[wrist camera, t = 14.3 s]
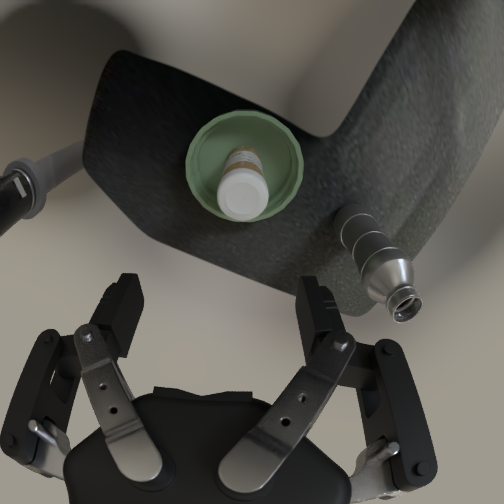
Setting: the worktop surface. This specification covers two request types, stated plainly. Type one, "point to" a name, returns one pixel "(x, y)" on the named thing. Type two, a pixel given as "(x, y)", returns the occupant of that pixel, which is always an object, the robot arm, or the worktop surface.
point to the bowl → (245, 134)
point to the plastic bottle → (378, 262)
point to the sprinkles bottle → (243, 185)
